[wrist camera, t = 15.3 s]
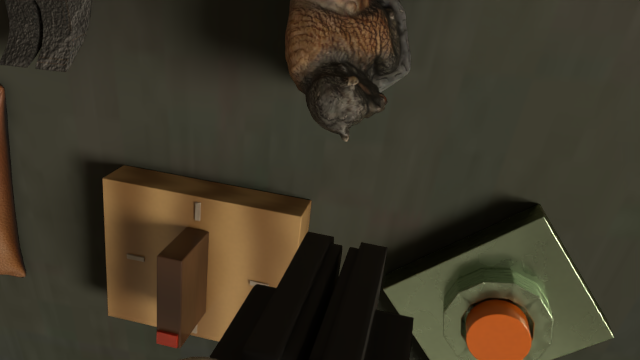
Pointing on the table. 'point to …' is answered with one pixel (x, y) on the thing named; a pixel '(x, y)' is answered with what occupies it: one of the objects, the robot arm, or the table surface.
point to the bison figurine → (346, 57)
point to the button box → (500, 289)
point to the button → (497, 331)
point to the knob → (181, 286)
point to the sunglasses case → (7, 204)
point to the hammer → (45, 32)
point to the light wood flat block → (203, 214)
